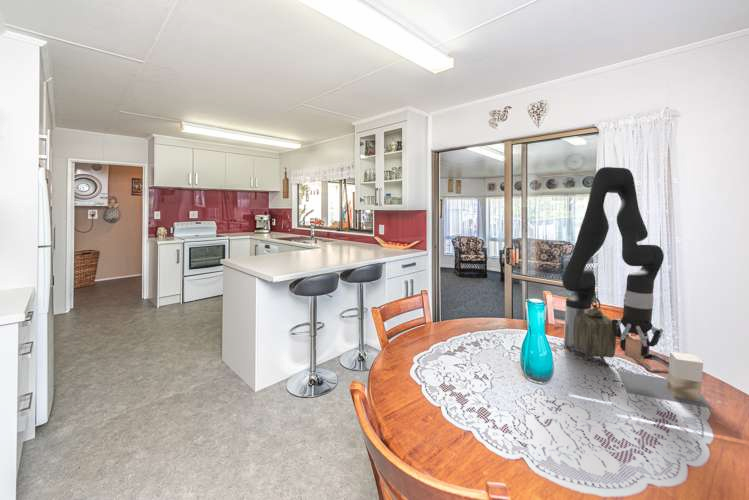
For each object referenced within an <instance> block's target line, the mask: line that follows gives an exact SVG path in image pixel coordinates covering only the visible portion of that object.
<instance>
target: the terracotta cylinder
mask: <svg viewBox="0 0 749 500" xmlns="http://www.w3.org/2000/svg"><path fill="white" fill-rule="evenodd" d="M642 346H643V344H642V341H641V339H640V337H639V336H634V335H629V336H626V341H625V351H623V352H624V355H625V357H627V358H631V359H634V360H635V359H640V360H644V359H643V357H642V356H641V352H642Z"/></svg>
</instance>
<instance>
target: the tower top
mask: <svg viewBox="0 0 749 500" xmlns="http://www.w3.org/2000/svg"><path fill="white" fill-rule="evenodd" d="M668 362H669V367H668V370H669V371H670V372H671V374H672V375H673V376H674V377H675V378H678V379H684V380H690V381H697V382H701V383H702V382H703V381H702V379H703V370H704V369H703V368H704V362H703V361H702V360H701V359H700V358H699V357H698V356H697V355H695V354H692V353H691V354H690V353H683V352H676V351H669V360H668Z"/></svg>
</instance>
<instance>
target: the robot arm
mask: <svg viewBox="0 0 749 500" xmlns="http://www.w3.org/2000/svg"><path fill="white" fill-rule="evenodd" d="M591 183H592V184H591V187H590V193H589V197H588V201H587V206H586V208H585V209H586V210H585V212H584V217H583V219H582V222H581V224H580V228H579V231H578V234H577V238H576V242H575V244H574V247H573V250H572V254H571V256H570V257H569V261H568V263H567V265H566V267H565V269H564V271H563V274H562V279H561V281H562V285H563V288H564V289H565V290H566V291H569V292H572V294H571V295H570V296H568V297H567V298H565V299H566V300H565V314H564V328H563V330H564V331H563V333H564V334H563V344H564V346H565V347H569V348H571V349H577V350H579V348H578V347H577V346H576V345H575V343H574V319H575V316H576V315H578V314H580V313H587V312H588V311H589V310H590V309H592V304H591V299H592V298H593V297H595V295H596V282H597V281H596V275H595V274H594V272H593V271H592V270H590V269H589V268H586V266H587V264H588V263H589V262H590V259H592V258H593V257H594V256H595V254H596V253H598V251H599V250H600V249H601V248H602V247H603V245H604V244H605V241H606V239H607V238H606V237H607V235H608V232H609V230H610V225H609V220H608V217H607V214H606V211H605V207H604V206H605V200H606V196H607V194H608V193H611V194H617V195H618V196H619V198H620V202H621V203H620V207H619V210H618V212H617V214H616V224H617V227H618V230H619V233H620V236H621V258H622V260H623V262H624V263H626V265H627V266H629V267H641V268H640V269H639V270H638V271H635V272H631V273H629V274H628V275H627V277H626V287H625V292H624V298H623V308H622V309H623V311H622V318H618V317H617V318H613V319H611V320H612V325H613V330H614V335H615V336H616V338H619V339H620V342H619V343H620V345H619V346H620V347H619V348H620V349H621V351H623V352H625V341H626V336H630V335H631V334H634V335H637V336H638V337H639V338H640V339H641V341H642V344H643V346H642V352H641V356H642V357H645V356H647V355H648V354H650V347H653V348H654V347H655V346H657V345H658V343H659V341H660V339H661V336H662V334H663V332H664V330H663V329H662V328H657V327H655V326H654V325H653V324H652V318H653V311H654V310H653V306H654V288H655V287H654V285H655V281H656V278H657V276H658V273H659V271H660V269H661V267H662V264H663V262H664V259H665V257H664V251H663V249H662V248H661V247H660V246H659V245H657V244H638V242H641V241H644V240H646V239H647V238H648V234H649V232H648V230H647V227H646V225H645V222H644V220H643V217H642V215H641V211H640V207H639V201H638V197H637V196H638V195H637V189H636V184H635V179H634V175H633V173H632V171H631V170H630V169H628V168H626V167H614V166H603V167H600V168H599V169H598V170H597V171H596V172H595V174H594V177H593V178H592V182H591ZM594 300H595V299H593V301H592V302H593V303H594ZM621 325H622V326H623V327H624V329H623V331H622V330H621ZM649 331H651V333H652V335H653V336H652V338H651V340H650V339H649V337H650V336H649V333H648V332H649Z"/></svg>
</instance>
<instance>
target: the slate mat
mask: <svg viewBox="0 0 749 500" xmlns="http://www.w3.org/2000/svg"><path fill="white" fill-rule="evenodd" d="M617 373H618V375H619V377H620V381H621V382H622V384H623V387H624V389H625V392H626V394H627V393H628V394H632V395H638V396H643V397H649V398H655V399H659V400H665V401H671V402H676V403H681V404H687V405H691V406H697V407H704V408H707V409H714V407H713V406H712V405H711V404H710V403H709V401H708V399H706V397H704V396H703V394H702V393H700V401H694V400H689V399H683V398H678V397H673V395H672V394H671V392H670V391H669V389H668V388H667V383H668V378H664V377H658V376H653V375H646V374H639V373H633V372H627V371H622V370H617Z"/></svg>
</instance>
